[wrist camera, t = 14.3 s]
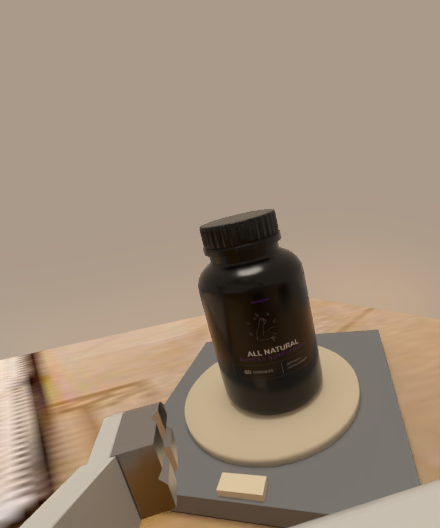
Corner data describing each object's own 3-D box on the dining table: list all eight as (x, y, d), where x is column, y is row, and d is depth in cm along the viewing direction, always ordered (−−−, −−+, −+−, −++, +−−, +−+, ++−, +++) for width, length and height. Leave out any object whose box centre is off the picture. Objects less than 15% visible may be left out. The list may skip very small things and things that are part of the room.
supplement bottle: (283, 437, 18) (231, 229, 15) (208, 396, 23) (160, 236, 20) (345, 371, 22) (312, 197, 19) (269, 349, 27) (235, 210, 24)
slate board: (115, 502, 19) (105, 477, 18) (209, 352, 33) (205, 336, 33) (434, 550, 13) (430, 516, 12) (380, 342, 27) (377, 323, 27)
